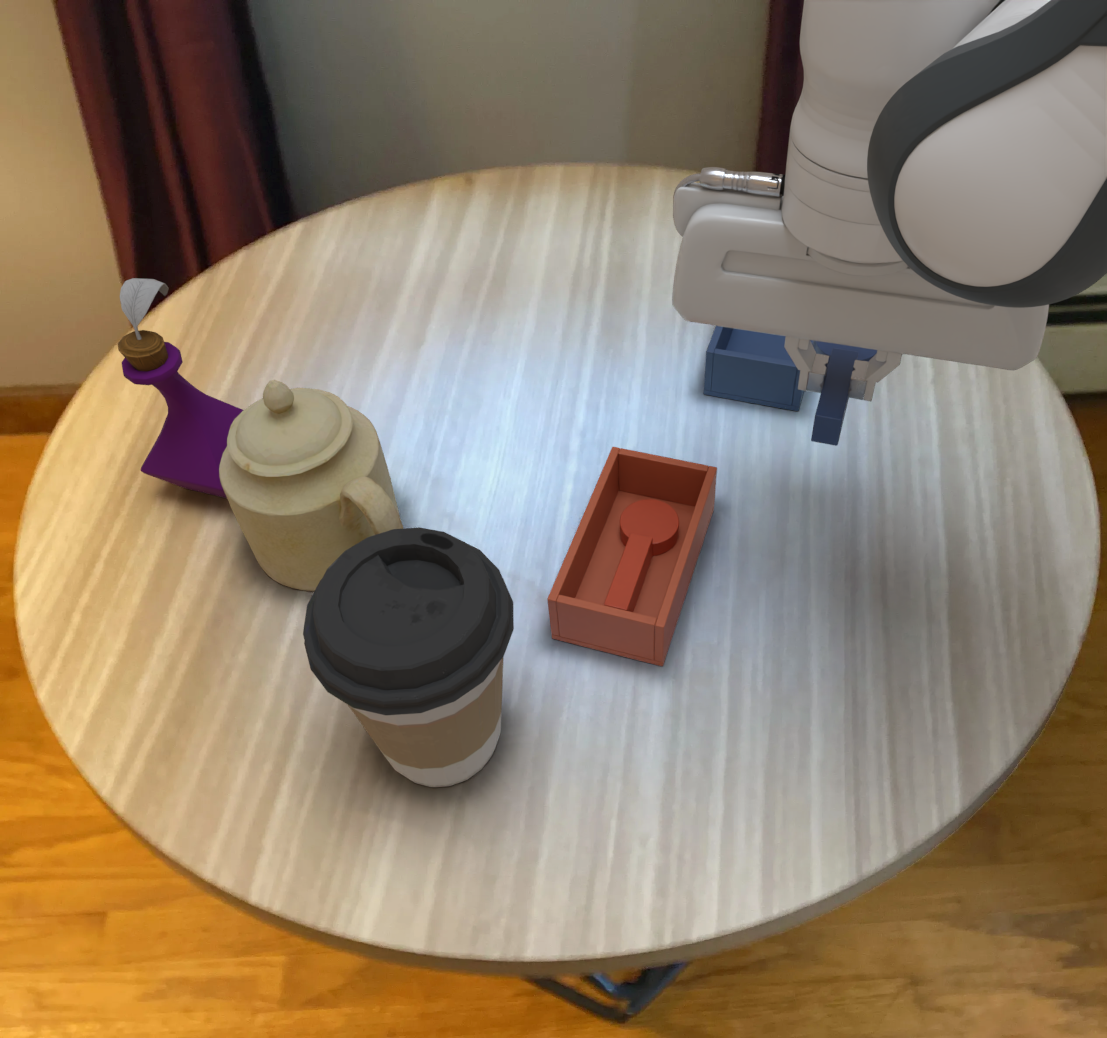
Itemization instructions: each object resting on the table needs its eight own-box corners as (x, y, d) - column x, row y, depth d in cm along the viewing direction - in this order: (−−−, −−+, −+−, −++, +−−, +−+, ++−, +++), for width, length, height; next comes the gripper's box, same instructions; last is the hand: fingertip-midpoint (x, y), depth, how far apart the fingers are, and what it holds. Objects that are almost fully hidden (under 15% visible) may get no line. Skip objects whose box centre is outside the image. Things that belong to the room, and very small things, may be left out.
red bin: (714, 509, 76) (717, 466, 72) (662, 667, 67) (664, 627, 64) (613, 488, 78) (612, 445, 74) (551, 638, 69) (546, 598, 66)
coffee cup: (562, 693, 66) (546, 546, 55) (481, 850, 60) (443, 720, 49) (410, 637, 70) (365, 488, 59) (317, 779, 63) (247, 643, 52)
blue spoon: (859, 450, 62) (865, 423, 60) (789, 437, 63) (792, 411, 61) (883, 341, 68) (888, 314, 66) (818, 331, 69) (823, 304, 68)
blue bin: (828, 303, 90) (836, 260, 87) (798, 411, 82) (805, 368, 78) (741, 290, 92) (745, 247, 89) (703, 394, 84) (705, 351, 80)
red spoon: (646, 634, 68) (646, 614, 67) (585, 619, 69) (584, 600, 68) (685, 518, 75) (686, 497, 73) (629, 506, 76) (628, 486, 74)
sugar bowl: (471, 504, 78) (442, 349, 66) (413, 620, 71) (369, 471, 60) (296, 467, 81) (240, 314, 70) (225, 574, 75) (150, 425, 63)
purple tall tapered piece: (238, 519, 78) (152, 332, 64) (154, 499, 80) (54, 314, 66) (285, 451, 83) (214, 262, 69) (205, 433, 85) (121, 247, 71)
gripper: (658, 195, 53) (657, 394, 64) (1084, 246, 48) (1007, 454, 58) (688, 134, 57) (682, 331, 68) (1086, 174, 52) (1013, 382, 62)
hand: (836, 389), depth 63 cm, fingers closed on blue spoon, 1 cm apart
